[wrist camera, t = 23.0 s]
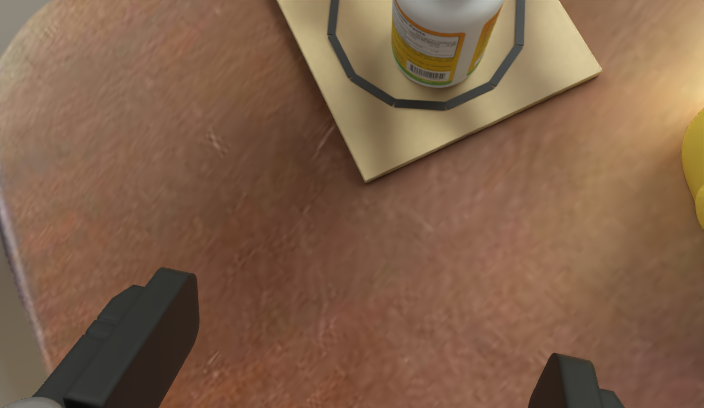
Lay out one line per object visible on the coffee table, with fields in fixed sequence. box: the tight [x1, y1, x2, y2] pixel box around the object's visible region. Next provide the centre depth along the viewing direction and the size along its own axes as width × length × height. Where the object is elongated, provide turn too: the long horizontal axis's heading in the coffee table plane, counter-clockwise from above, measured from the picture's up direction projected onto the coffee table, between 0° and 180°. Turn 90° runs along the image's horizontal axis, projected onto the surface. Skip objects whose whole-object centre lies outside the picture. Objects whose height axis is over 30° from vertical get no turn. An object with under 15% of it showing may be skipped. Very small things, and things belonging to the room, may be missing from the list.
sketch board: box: [276, 0, 602, 183], centre depth 32 cm, size 15×15×1 cm
